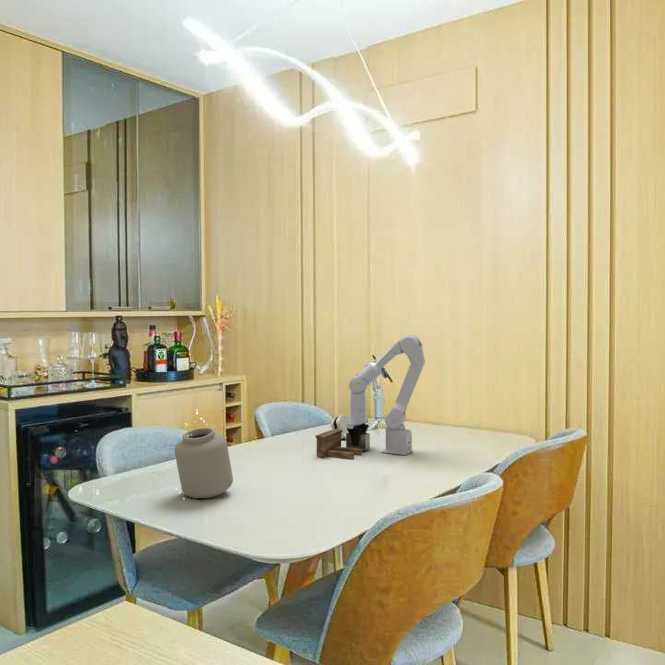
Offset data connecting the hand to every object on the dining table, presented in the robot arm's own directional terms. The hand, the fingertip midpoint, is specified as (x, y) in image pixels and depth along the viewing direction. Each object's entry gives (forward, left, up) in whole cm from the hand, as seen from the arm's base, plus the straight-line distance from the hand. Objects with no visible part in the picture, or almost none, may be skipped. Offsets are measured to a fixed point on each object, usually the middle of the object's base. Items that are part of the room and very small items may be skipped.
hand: (357, 444), depth 250 cm
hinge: (+16, -20, -2) cm, 26 cm away
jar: (+14, +76, -2) cm, 77 cm away
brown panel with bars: (+2, +11, -2) cm, 11 cm away
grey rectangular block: (0, 0, -2) cm, 2 cm away
